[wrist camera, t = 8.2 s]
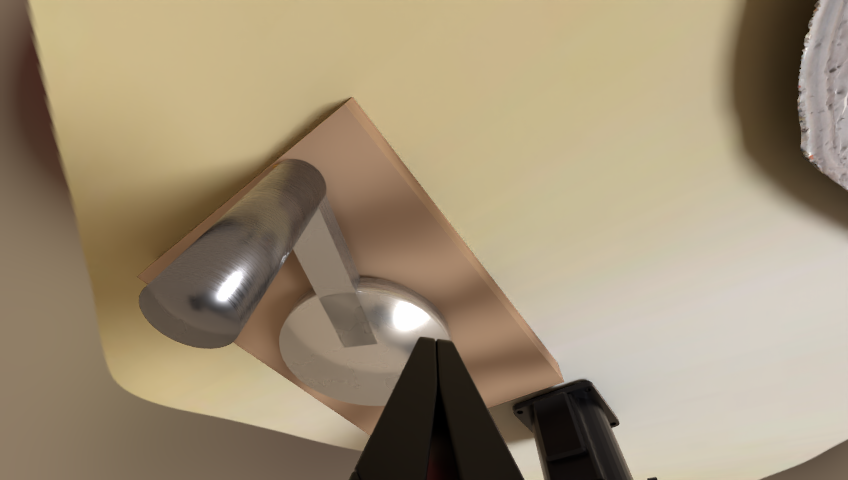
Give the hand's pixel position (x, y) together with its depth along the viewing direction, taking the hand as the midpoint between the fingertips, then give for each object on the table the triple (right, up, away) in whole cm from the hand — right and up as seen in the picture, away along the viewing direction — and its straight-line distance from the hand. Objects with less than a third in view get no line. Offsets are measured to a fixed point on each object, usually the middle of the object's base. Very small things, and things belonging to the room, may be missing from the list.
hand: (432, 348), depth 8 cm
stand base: (-3, -2, +14) cm, 15 cm away
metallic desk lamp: (-4, -1, +11) cm, 11 cm away
